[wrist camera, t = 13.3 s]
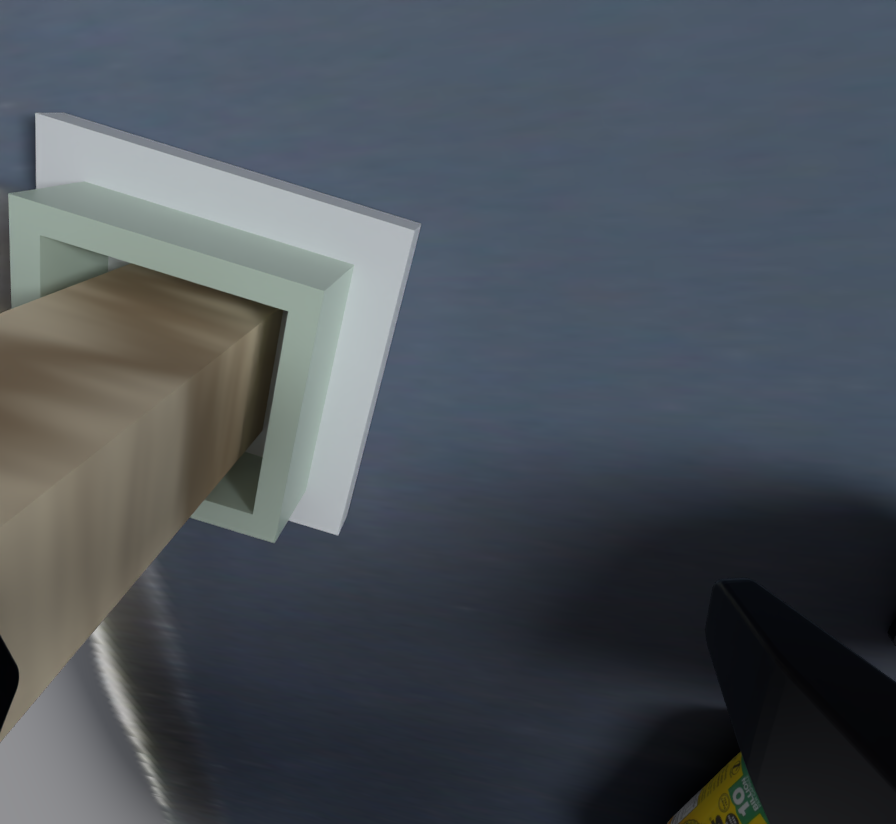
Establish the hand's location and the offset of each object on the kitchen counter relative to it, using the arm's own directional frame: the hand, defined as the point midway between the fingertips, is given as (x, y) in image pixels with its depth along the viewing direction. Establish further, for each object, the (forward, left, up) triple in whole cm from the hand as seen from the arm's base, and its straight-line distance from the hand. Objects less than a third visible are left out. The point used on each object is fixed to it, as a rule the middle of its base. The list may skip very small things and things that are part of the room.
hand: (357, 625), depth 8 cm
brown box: (+8, +2, -12) cm, 15 cm away
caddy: (+8, +2, -13) cm, 16 cm away
